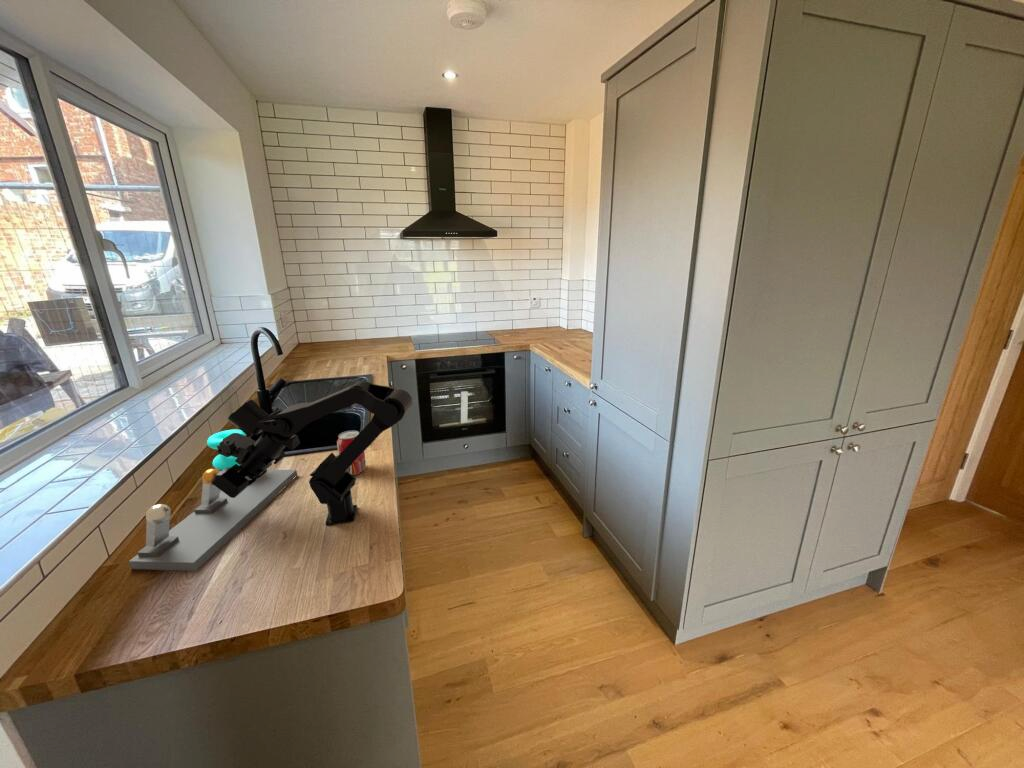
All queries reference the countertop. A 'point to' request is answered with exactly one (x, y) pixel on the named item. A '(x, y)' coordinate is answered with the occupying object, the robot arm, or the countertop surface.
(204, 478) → the orange lever
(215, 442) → the donuts
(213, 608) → the countertop surface
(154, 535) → the cream lever
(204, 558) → the switch panel
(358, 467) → the soda can
